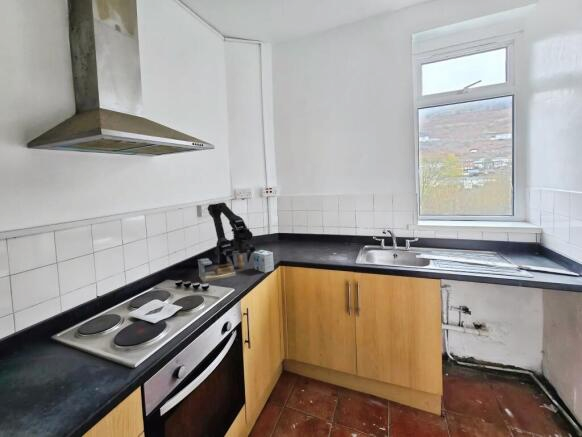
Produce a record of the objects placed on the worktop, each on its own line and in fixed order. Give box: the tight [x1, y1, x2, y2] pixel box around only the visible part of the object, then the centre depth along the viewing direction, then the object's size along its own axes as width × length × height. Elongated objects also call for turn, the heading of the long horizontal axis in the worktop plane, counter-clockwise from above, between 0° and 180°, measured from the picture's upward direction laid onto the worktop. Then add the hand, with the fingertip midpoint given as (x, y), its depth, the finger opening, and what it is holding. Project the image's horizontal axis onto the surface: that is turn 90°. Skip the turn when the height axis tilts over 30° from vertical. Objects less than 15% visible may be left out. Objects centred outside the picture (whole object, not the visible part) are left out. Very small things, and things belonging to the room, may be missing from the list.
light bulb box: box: [252, 249, 275, 274], centre depth 164 cm, size 11×7×11 cm, turn 45°
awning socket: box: [197, 257, 237, 283], centre depth 158 cm, size 12×18×10 cm, turn 119°
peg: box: [237, 253, 245, 270], centre depth 171 cm, size 4×4×8 cm
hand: (240, 263), depth 171 cm, fingers open, 9 cm apart
